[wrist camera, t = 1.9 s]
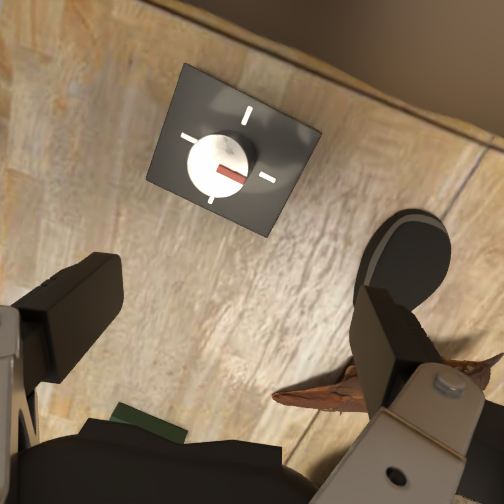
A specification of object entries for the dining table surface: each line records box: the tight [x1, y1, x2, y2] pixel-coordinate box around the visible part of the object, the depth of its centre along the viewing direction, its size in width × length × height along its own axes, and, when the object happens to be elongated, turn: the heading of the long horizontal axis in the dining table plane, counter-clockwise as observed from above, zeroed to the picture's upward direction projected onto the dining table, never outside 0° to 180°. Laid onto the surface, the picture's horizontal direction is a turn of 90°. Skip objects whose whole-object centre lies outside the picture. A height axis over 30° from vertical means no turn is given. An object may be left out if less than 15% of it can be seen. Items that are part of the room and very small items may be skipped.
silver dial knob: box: [187, 130, 255, 198], centre depth 26 cm, size 4×4×5 cm
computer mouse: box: [353, 210, 451, 312], centre depth 32 cm, size 7×12×4 cm, turn 165°
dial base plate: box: [146, 63, 322, 238], centre depth 30 cm, size 12×10×3 cm
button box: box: [109, 403, 187, 444], centre depth 45 cm, size 10×8×4 cm
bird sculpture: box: [272, 353, 504, 415], centre depth 37 cm, size 7×25×5 cm, turn 119°
